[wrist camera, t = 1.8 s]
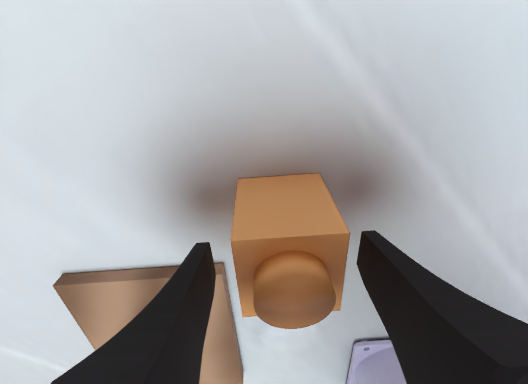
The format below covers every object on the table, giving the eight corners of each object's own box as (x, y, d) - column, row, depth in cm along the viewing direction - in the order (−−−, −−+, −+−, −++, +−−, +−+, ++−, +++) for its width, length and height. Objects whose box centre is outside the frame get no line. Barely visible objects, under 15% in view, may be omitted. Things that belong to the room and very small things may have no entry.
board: (223, 262, 18) (221, 274, 17) (243, 371, 25) (243, 384, 24) (62, 274, 18) (52, 285, 17) (127, 380, 25) (122, 392, 24)
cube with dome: (319, 173, 15) (361, 254, 9) (316, 236, 17) (348, 335, 11) (237, 178, 15) (227, 263, 9) (245, 241, 17) (241, 342, 11)
